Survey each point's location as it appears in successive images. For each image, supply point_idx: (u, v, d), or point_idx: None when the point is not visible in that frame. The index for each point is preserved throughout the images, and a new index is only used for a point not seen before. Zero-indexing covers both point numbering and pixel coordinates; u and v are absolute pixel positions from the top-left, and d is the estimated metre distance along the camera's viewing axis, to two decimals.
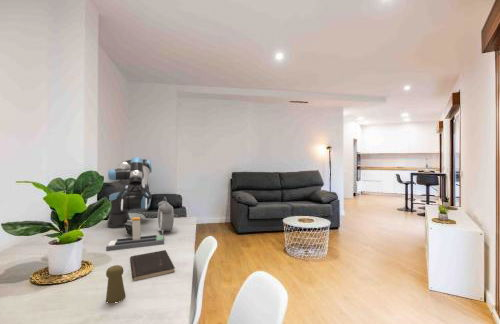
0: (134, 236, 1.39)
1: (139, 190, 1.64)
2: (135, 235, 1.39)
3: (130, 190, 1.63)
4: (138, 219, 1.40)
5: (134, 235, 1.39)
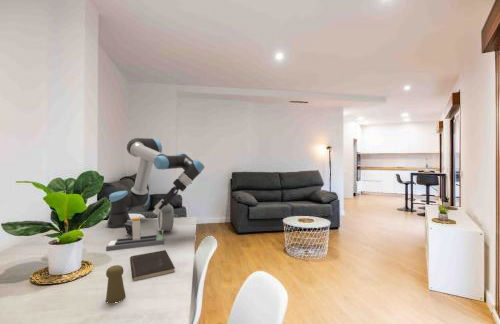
0: (134, 236, 1.39)
1: None
2: (135, 235, 1.39)
3: None
4: (138, 219, 1.40)
5: (134, 235, 1.39)
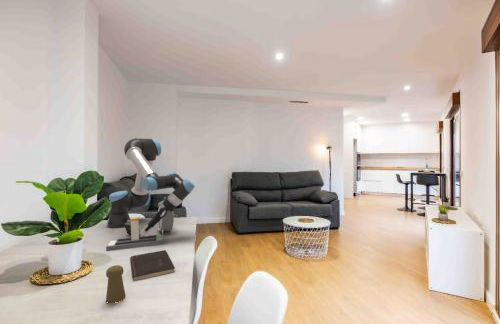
0: (133, 236, 1.39)
1: None
2: (133, 235, 1.39)
3: None
4: (137, 219, 1.39)
5: (132, 235, 1.39)
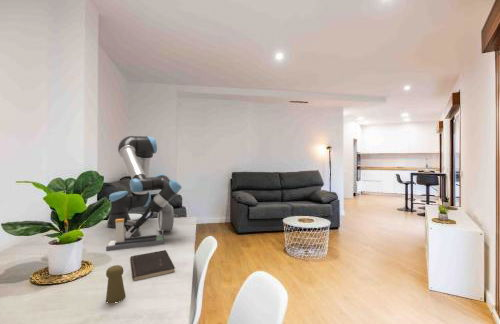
0: (117, 238, 1.37)
1: None
2: (118, 237, 1.37)
3: None
4: (122, 220, 1.37)
5: (117, 237, 1.37)
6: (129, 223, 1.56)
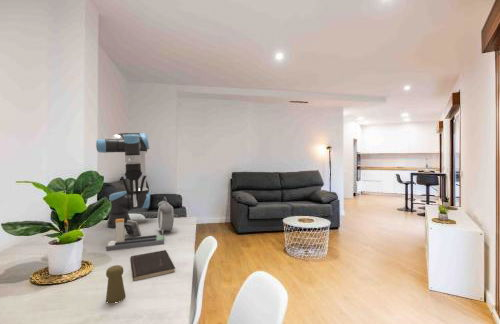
0: (118, 238, 1.37)
1: None
2: (118, 237, 1.37)
3: None
4: (122, 220, 1.37)
5: (117, 237, 1.37)
6: (129, 223, 1.56)
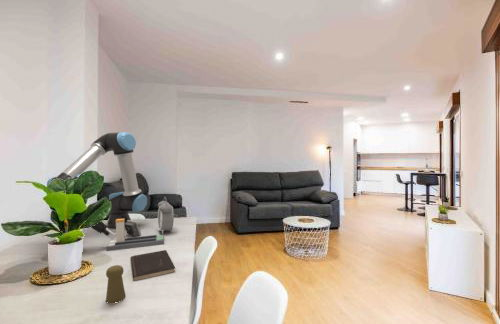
0: (118, 238, 1.37)
1: None
2: (118, 237, 1.37)
3: None
4: (122, 220, 1.37)
5: (117, 237, 1.37)
6: (129, 223, 1.56)
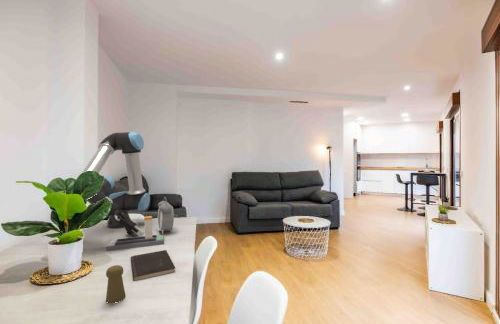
0: (146, 235, 1.41)
1: (120, 218, 1.37)
2: (147, 234, 1.41)
3: None
4: (150, 218, 1.42)
5: (146, 234, 1.41)
6: None
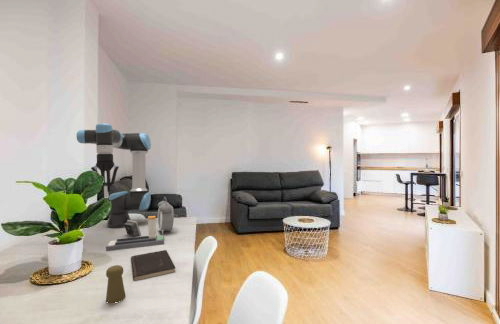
0: (150, 234, 1.42)
1: None
2: (150, 233, 1.42)
3: None
4: (154, 218, 1.42)
5: (150, 233, 1.42)
6: (129, 223, 1.56)
